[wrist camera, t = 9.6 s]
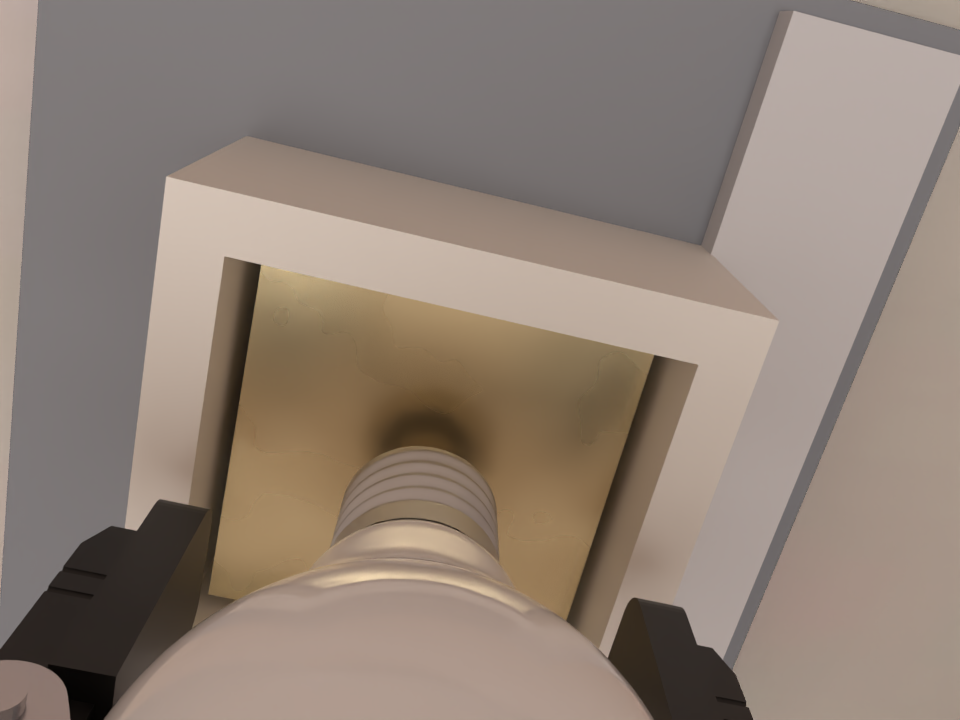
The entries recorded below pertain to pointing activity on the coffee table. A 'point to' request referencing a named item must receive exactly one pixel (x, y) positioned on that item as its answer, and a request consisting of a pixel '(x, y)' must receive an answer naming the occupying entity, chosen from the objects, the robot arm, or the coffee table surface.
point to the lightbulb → (390, 624)
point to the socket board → (472, 242)
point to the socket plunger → (418, 426)
